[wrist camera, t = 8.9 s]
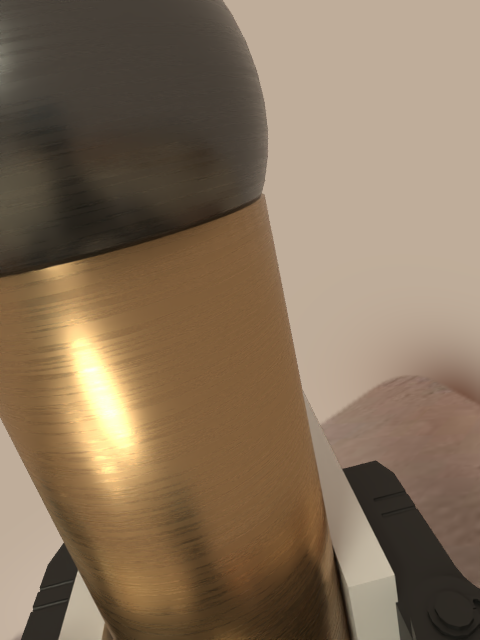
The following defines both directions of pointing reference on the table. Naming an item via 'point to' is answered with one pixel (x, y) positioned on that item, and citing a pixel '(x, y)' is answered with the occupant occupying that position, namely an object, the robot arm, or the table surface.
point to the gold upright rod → (155, 323)
